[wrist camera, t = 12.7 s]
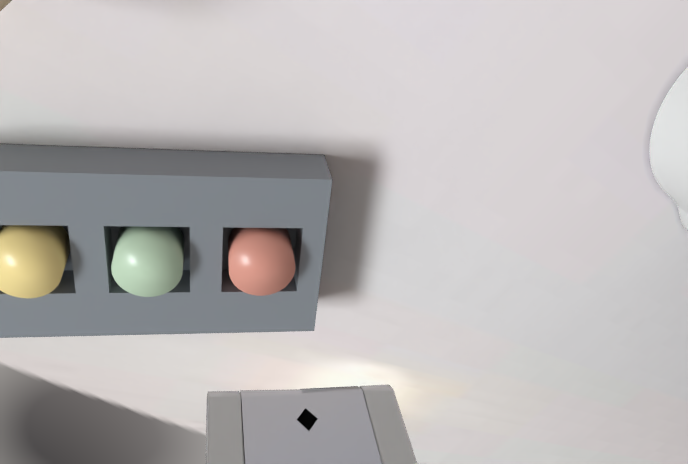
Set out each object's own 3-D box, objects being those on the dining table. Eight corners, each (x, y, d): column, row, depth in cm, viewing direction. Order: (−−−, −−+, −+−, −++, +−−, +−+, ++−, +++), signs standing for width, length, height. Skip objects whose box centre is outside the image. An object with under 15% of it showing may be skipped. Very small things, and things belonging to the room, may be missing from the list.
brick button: (293, 216, 43) (298, 241, 41) (288, 268, 46) (292, 295, 43) (228, 216, 43) (229, 241, 40) (226, 269, 45) (227, 296, 42)
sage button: (184, 215, 42) (182, 241, 40) (184, 269, 44) (183, 296, 42) (115, 214, 41) (108, 240, 39) (119, 269, 43) (113, 297, 41)
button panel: (324, 154, 43) (332, 179, 40) (307, 300, 49) (314, 330, 46) (-46, 142, 39) (-67, 169, 36) (-13, 303, 45) (-28, 338, 42)
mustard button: (67, 214, 41) (58, 240, 38) (73, 269, 43) (65, 298, 40) (-7, 212, 40) (-22, 239, 37) (3, 269, 42) (-10, 298, 39)
